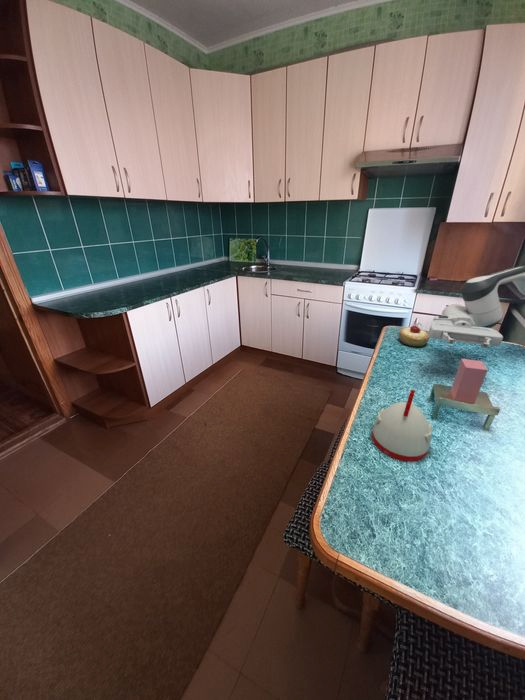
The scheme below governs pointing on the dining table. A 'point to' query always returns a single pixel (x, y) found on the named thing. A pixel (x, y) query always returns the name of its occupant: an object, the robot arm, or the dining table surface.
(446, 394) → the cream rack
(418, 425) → the kitchen timer
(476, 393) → the pink carton
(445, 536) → the dining table surface
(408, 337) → the pastry
